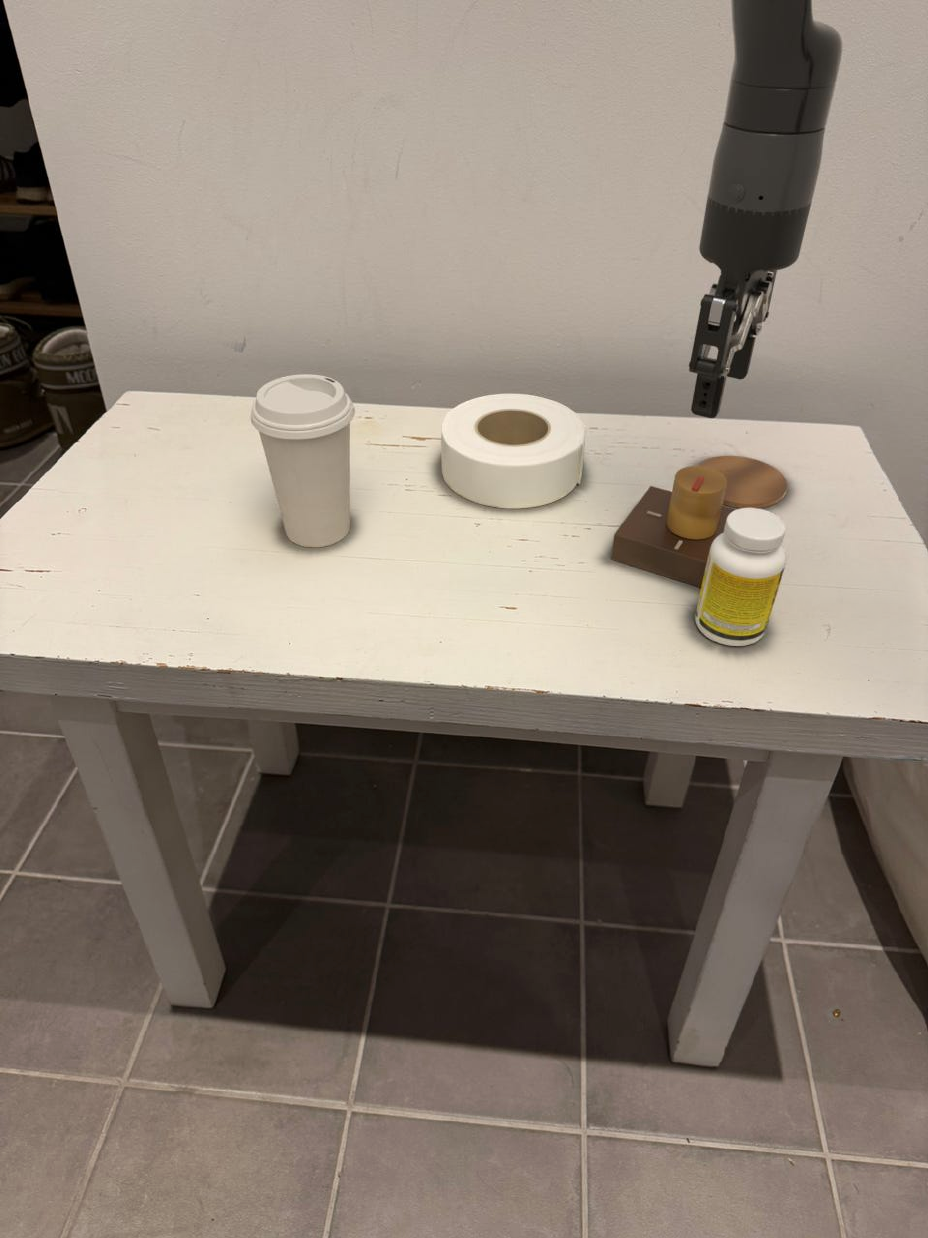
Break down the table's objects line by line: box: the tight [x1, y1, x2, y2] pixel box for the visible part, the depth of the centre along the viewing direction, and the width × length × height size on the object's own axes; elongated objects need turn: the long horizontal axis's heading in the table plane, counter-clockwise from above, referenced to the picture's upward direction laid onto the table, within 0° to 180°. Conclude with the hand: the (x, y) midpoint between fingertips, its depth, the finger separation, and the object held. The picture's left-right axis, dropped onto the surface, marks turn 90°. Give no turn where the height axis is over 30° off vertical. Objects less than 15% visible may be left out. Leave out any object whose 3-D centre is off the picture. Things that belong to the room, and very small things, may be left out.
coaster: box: [697, 455, 788, 509], centre depth 95 cm, size 10×10×1 cm
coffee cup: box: [250, 373, 356, 548], centre depth 84 cm, size 10×10×15 cm
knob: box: [666, 465, 727, 539], centre depth 82 cm, size 5×5×6 cm
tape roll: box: [440, 393, 586, 510], centre depth 95 cm, size 16×16×6 cm
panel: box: [610, 485, 736, 588], centre depth 85 cm, size 12×10×3 cm
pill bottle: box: [694, 508, 787, 647], centre depth 74 cm, size 6×6×11 cm
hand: (719, 394), depth 75 cm, fingers open, 8 cm apart
